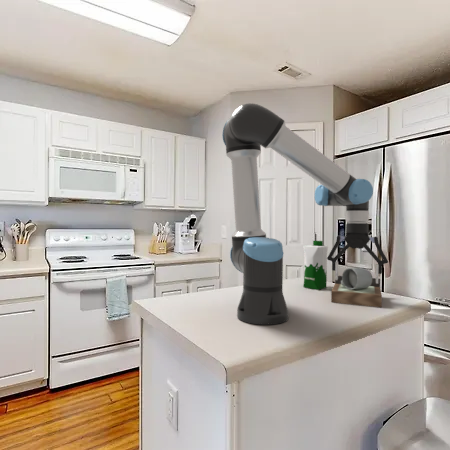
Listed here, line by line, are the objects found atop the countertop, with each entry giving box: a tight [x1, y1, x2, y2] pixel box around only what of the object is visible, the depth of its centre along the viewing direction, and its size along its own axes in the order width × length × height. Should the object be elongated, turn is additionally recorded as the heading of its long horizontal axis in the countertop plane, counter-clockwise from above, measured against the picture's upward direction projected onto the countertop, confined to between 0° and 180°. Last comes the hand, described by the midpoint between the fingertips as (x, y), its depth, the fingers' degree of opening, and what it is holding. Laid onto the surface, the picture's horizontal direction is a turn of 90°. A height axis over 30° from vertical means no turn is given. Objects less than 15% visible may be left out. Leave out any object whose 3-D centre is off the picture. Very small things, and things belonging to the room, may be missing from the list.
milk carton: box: [302, 240, 329, 291], centre depth 138 cm, size 9×9×20 cm
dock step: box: [330, 275, 383, 308], centre depth 118 cm, size 16×16×7 cm
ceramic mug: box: [341, 267, 374, 290], centre depth 118 cm, size 11×8×8 cm
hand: (356, 281), depth 117 cm, fingers open, 13 cm apart
